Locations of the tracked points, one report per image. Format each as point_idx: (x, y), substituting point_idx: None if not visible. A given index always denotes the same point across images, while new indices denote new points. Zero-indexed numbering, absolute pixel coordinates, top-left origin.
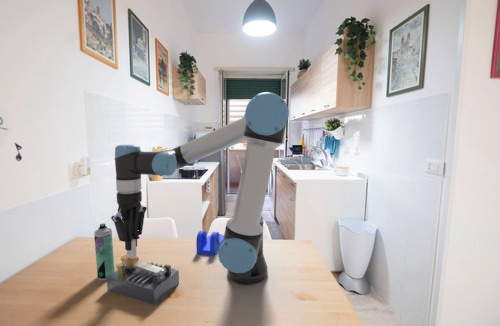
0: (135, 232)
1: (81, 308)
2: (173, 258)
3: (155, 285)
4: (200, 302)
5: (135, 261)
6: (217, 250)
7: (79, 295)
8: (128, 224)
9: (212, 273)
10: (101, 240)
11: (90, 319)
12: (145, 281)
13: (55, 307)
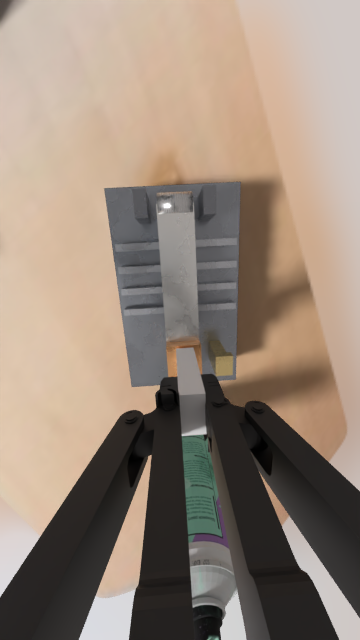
0: (177, 433)
1: (288, 353)
2: (23, 325)
3: (217, 198)
4: (160, 53)
5: (181, 342)
6: None
7: (258, 395)
8: (286, 540)
9: (6, 119)
10: (223, 524)
11: (309, 304)
12: (225, 238)
13: (300, 399)
